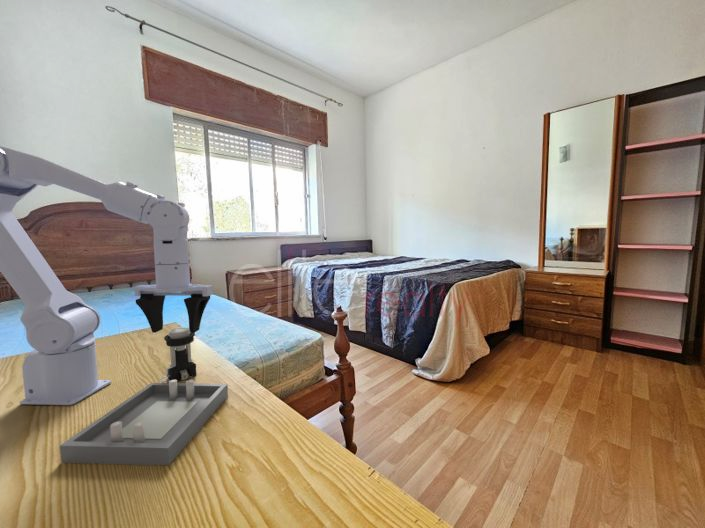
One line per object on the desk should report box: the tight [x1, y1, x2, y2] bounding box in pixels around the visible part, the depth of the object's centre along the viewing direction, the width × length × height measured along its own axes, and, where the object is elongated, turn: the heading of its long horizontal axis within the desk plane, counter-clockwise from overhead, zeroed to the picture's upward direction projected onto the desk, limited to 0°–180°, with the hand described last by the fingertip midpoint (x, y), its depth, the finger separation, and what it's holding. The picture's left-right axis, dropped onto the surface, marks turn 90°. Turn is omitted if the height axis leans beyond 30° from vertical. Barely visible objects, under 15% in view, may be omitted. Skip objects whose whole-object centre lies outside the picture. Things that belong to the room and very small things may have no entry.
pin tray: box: [59, 379, 229, 466], centre depth 44 cm, size 14×16×4 cm
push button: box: [158, 327, 197, 383], centre depth 58 cm, size 7×5×10 cm
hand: (176, 331), depth 58 cm, fingers open, 7 cm apart
